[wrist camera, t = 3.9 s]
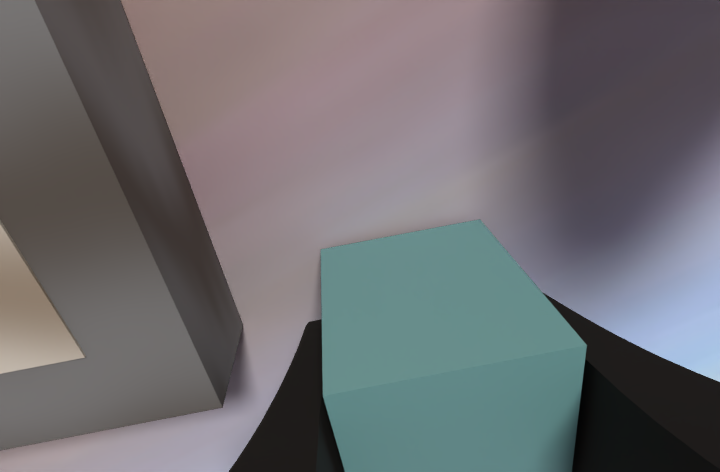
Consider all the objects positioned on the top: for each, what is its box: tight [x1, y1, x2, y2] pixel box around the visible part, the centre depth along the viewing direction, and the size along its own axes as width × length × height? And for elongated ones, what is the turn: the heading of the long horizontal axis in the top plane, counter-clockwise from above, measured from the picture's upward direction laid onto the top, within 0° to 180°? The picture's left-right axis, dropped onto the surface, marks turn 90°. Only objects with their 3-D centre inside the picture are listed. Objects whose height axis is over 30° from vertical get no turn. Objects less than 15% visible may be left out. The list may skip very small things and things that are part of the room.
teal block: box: [321, 219, 587, 472], centre depth 10 cm, size 4×4×5 cm
